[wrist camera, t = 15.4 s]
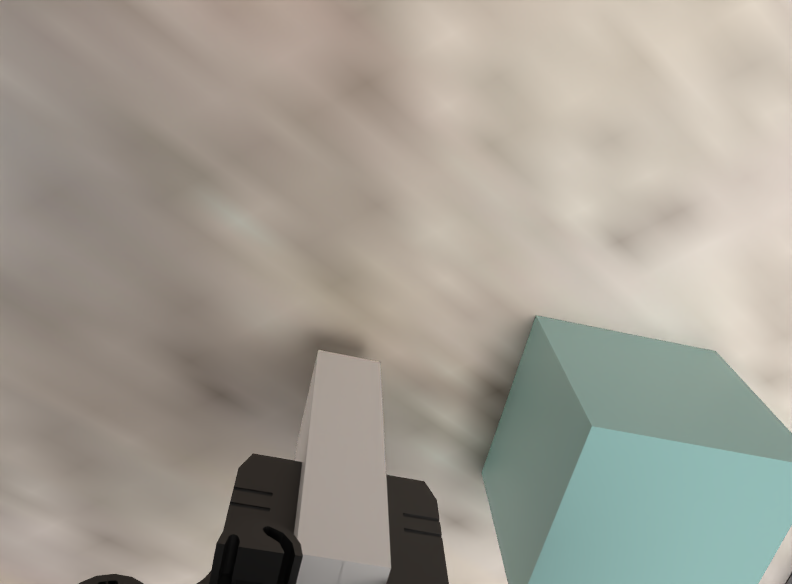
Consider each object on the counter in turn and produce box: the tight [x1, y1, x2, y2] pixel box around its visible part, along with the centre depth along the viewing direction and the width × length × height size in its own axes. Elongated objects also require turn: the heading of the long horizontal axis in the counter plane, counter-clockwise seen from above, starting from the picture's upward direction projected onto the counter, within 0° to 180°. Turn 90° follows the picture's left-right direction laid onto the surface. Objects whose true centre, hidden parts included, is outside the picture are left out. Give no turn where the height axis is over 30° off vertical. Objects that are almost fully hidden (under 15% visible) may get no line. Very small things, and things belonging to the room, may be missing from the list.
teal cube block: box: [482, 315, 792, 584], centre depth 18 cm, size 5×5×5 cm
